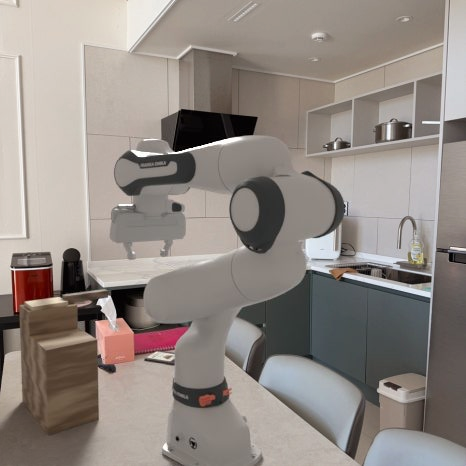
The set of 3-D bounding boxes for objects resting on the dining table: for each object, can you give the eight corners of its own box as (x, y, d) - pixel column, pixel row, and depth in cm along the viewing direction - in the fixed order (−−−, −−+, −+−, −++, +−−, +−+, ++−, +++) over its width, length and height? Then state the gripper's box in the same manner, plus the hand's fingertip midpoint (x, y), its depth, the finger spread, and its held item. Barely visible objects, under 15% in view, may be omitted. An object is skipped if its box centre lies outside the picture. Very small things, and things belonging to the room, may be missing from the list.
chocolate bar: (192, 366, 143) (144, 358, 150) (192, 369, 143) (144, 361, 150) (204, 357, 151) (158, 350, 158) (204, 360, 152) (158, 352, 158)
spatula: (101, 294, 131) (101, 287, 130) (111, 299, 125) (111, 291, 125) (24, 305, 117) (24, 297, 117) (32, 310, 112) (31, 302, 112)
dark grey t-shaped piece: (94, 381, 134) (94, 372, 134) (66, 369, 144) (66, 360, 143) (132, 367, 146) (132, 359, 145) (104, 356, 155) (104, 348, 155)
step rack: (98, 419, 110) (96, 315, 108) (48, 435, 103) (45, 324, 100) (67, 389, 127) (65, 298, 125) (22, 401, 120) (19, 305, 117)
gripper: (117, 206, 105) (115, 264, 107) (190, 205, 118) (187, 257, 120) (106, 203, 110) (104, 258, 112) (177, 202, 122) (175, 252, 125)
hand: (148, 257), depth 116 cm, fingers open, 8 cm apart
